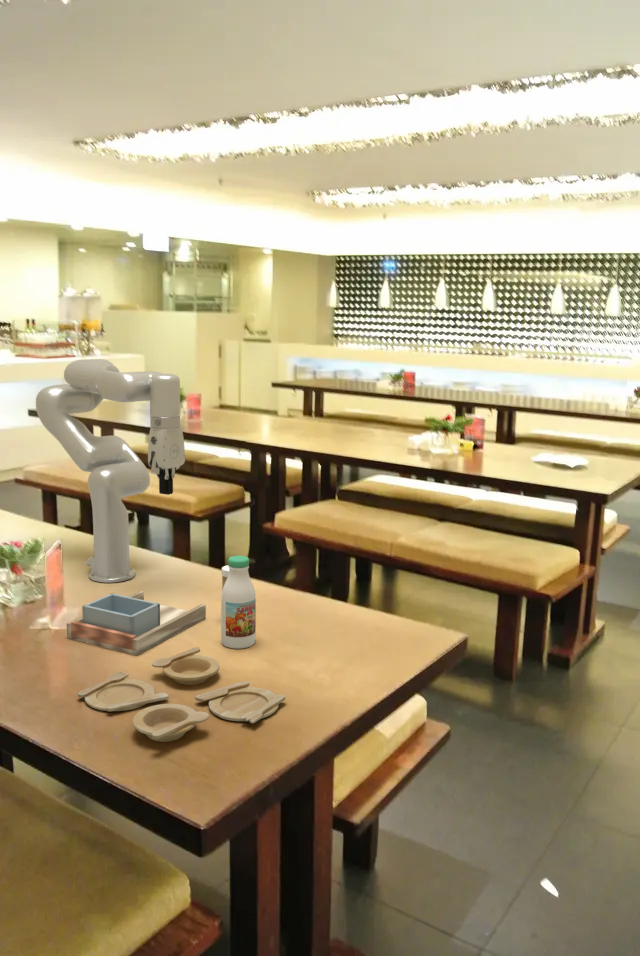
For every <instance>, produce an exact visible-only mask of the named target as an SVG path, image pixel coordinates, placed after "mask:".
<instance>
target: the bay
mask: <svg viewBox="0 0 640 956" xmlns="http://www.w3.org/2000/svg"><path fill="white" fill-rule="evenodd" d="M127 597H131V598H136V599H141V600H145V591H142V590H139V591H137V592H135V593H132V594H130V595H128V596H127ZM206 614H207V606H206V604H203V603H200V604H198V605H196V606H195V607H193V608H191V609H189V610H188V609H181V608H177V607H173V606H168V605H164V604H160V626H158V627H156V628H154V629H152V630H150V631H148V632H146V633H144V634H142V635H140V636H139V637H137V638H136V635H132V634H128V633H124V632H119V631H115V630H111V629H107V628H103V627H98V626H94V625H90V624H86V623H83V615H82V616H80V617H78V618H76V619H74V620H72V621H69V622H67V623H66V638H67V639H70V640H73V641H77V640H78V641H77V642H81V641H82V642H81V643H84V642H86V644H88V643H90V644H89V645H92V644H93V646H96V647H101V648H103V649H108V650H113V651H117V652H121V653H125V654H129V655H133V656H136V657H138V656H140V655H142V654H143V653H145V652H147V651H149V650H150V649H152V648H155V647H156V646H158V645H160V644H162V643H163V642H166V641H167V640H169V639H171V638H172V637H175V636H176V635H179V634H180V633H182V632H183V630H184V631H185V629H186V630H187V629H189V628H191V627H193V626H195V625H196V624H198V623H200V622H202V621H204V620H205V618H207V615H206ZM203 619H204V620H203ZM201 620H202V621H201ZM194 624H195V625H194ZM192 625H193V626H192ZM190 626H191V627H190ZM188 627H189V628H188ZM181 631H182V632H181ZM179 632H180V633H179ZM174 635H175V636H174Z"/></svg>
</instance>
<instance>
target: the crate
mask: <svg viewBox="0 0 640 956" xmlns="http://www.w3.org/2000/svg"><path fill="white" fill-rule="evenodd" d="M160 605H161V603H159V602H154V601H149V600H145V599H144V600H141V599H136V598H131V597H128V596H126V595H123V594H117V593H109V594H107V595H105V596H103V597H100V598H98V599H95V600H93V601H90V602H89V603H86V604H84V605H82V606H81V607H82V608H81V609H82V616H83V623H86V624H90V625H94V626H98V627H103V628H107V629H111V630H115V631H119V632H124V633H128V634H132V635H136V638H137V637H139V636H140V635H142V634H144V633H146V632H148V631H150V630H152V629H154V628H156V627H158V626H160Z"/></svg>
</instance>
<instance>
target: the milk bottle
mask: <svg viewBox="0 0 640 956" xmlns="http://www.w3.org/2000/svg"><path fill="white" fill-rule="evenodd" d="M227 563H228V565H229V566H228V568H229V575H228V578H227V580H226V582H225V584H224V587H223V590H222V589H221V602H220V603H221V605H220V606H221V609H220V610H221V613H220V616H221V617H220V632H221V633H220V637H221V639H220V641H221V644H222V645H223V646H224V647H226V648H228V649H229V648H230V649H238V650H239V649H246V648H249V647H252V646H253V645H254V644H255V642H256V634H257V633H256V627H257V626H256V623H257V622H256V620H257V618H256V616H257V615H256V614H257V612H256V611H257V610H256V609H257V607H256V605H257V604H256V601H257V600H256V591H255V590H256V589H255V587H254V583H253V582H252V580H251V577H250V574H249V573H250V572H249V568H250V566H249V565H250V558H249V557H248V556H245V555H233V556H230V557H228V560H227Z"/></svg>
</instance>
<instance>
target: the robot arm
mask: <svg viewBox="0 0 640 956" xmlns="http://www.w3.org/2000/svg"><path fill="white" fill-rule="evenodd" d="M63 371H64V372H63V378H64V381H65V382H66V383H62V384H61V383H60V384H54V385H49V386H46V387H43V388H42V389H41V390H40V391H38V392H37V394H36V397H35V410H36V413H37V416H38V418H39V420H40V422H41V424H42V426H43V427H44V428H45V429H46V430H47V432H48V433H50V434H51V436H53V437H54V438H55V439H56V441H58V442H59V444H61V446H62V447H63V449H64V451H66V453H67V454H68V456H69V457H70V459H72V461H73V463H74V464H75V465H76V466H77V467H78V468H79V469H80V470H81V471H82V472H86V473H87V472H88V473H89V475H88V479H87V487H88V491H89V495H90V500H91V507H92V508H91V509H92V529H93V531H92V532H93V533H92V534H93V557H92V556H89V557H88V558H87V560H86V561H85V563H84V564H85V566H87V567H91V570H90V571H89V572H88V578H89V579H90V580H91V581H94V582H98V583H104V584H105V583H109V584H110V583H120V582H125V581H128V580H131V579H133V578H134V577H135V576H136V570H135V569H134V568H132V567H130V535H129V534H130V532H129V531H130V530H129V529H130V527H129V513H128V512H129V511H128V509H127V508H126V506H125V504H124V503H123V501H122V498H126V497H132V496H136V495H139V494H142V493H145V492H146V491H147V490H148V488H149V486H150V483H151V476H150V473H151V474H153V475H156V476H157V479H158V482H159V483H158V489H159V494H161V495H167V496H168V495H169V496H170V495H172V494H173V493H174V478H175V473H176V471H177V470H179V469H180V467H181V466H183V465H184V464H185V463H186V452H185V451H186V449H185V441H184V440H185V439H184V433H183V429H182V427H181V381H180V380H181V379H180V377H179V376H178V375H177V374H173V373H163V372H162V373H161V372H159V371H155V370H153V371H152V370H149V371H128V372H122V371H120V370H119V368H118V367H117V366H116V365H114V364H113V363H112V362H111V361H109V360H108V359H104V358H96V359H95V358H91V359H76V360H74V361H71V362H70V363H69V364H67V365H66V367H65V369H64V370H63ZM103 400H108V401H112V402H113V401H114V402H117V403H119V402H120V403H135V402H148V401H149V417H150V418H149V420H150V421H149V422H150V423H149V425H150V426H149V427H150V429H149V435H148V441H147V442H148V444H147V462H148V466H149V467H150V468H151V469H150V473H149V471H148V468H147V466H146V465H145V464H144V462H143V461H142V460H141V459H140V457H139V456H138V455H137V453H136V452H135V451H134V450H133V449H132V448H131V446H130V445H129V444H128V443H127V441H126V440H125V439H123V438H122V437H119V436H117V435H103V436H98V435H97V436H96V435H94V434H93V433H92V432H91V431H90V429H88V428H87V426H86V425H85V424H84V423H83V422H82V421H80V420H79V419H77V418H75V417H73V416H71V415H72V414H80V413H81V414H82V413H89V412H91V411H94V410H95V409H96V408H98V406H100V404H101V403H102V402H103Z"/></svg>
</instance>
